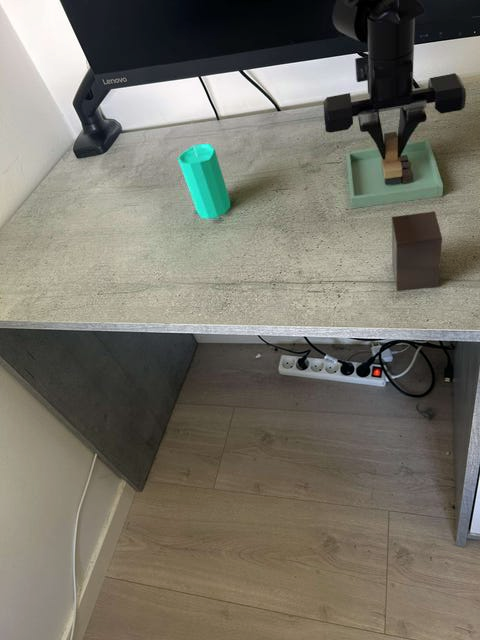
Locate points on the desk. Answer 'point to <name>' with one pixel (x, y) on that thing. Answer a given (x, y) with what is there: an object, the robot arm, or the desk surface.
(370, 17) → the robot arm
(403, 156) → the crumb
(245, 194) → the desk surface
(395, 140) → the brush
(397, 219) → the dark brown block
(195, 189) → the candle
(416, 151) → the tray
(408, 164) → the crumb
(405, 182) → the crumb
